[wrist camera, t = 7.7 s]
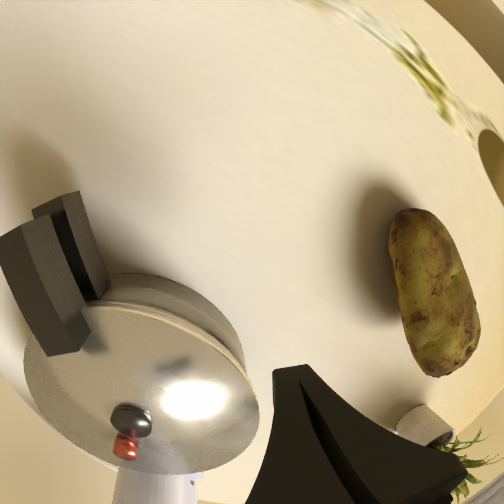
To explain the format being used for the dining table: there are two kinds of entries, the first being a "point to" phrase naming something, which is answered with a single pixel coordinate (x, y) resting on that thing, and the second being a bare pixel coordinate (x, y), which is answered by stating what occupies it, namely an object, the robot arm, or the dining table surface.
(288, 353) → the dining table surface
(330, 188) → the dining table surface
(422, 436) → the house plant
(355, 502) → the robot arm
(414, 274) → the potato
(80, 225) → the pot
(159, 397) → the lid
